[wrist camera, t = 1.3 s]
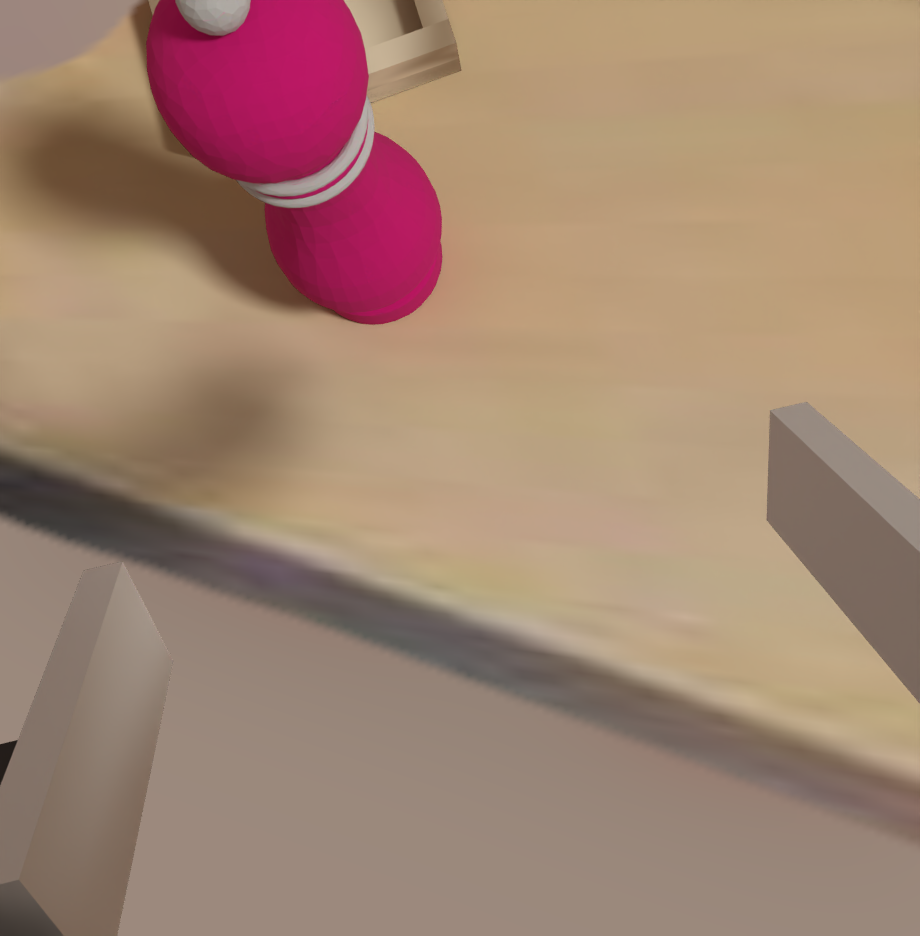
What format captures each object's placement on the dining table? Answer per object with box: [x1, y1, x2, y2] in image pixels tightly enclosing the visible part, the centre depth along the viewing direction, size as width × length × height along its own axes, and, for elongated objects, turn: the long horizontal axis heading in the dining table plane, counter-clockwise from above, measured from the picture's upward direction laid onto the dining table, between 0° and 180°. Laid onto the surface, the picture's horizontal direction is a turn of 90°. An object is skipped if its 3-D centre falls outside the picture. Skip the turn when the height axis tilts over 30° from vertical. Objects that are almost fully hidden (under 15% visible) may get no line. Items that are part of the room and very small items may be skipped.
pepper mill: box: [146, 0, 442, 324], centre depth 29 cm, size 7×7×20 cm
